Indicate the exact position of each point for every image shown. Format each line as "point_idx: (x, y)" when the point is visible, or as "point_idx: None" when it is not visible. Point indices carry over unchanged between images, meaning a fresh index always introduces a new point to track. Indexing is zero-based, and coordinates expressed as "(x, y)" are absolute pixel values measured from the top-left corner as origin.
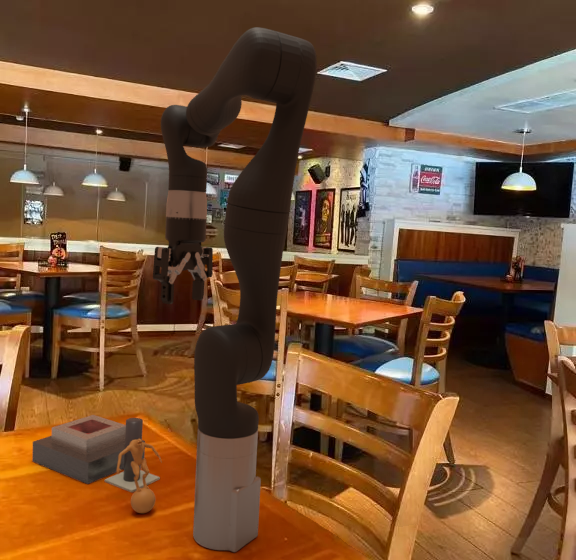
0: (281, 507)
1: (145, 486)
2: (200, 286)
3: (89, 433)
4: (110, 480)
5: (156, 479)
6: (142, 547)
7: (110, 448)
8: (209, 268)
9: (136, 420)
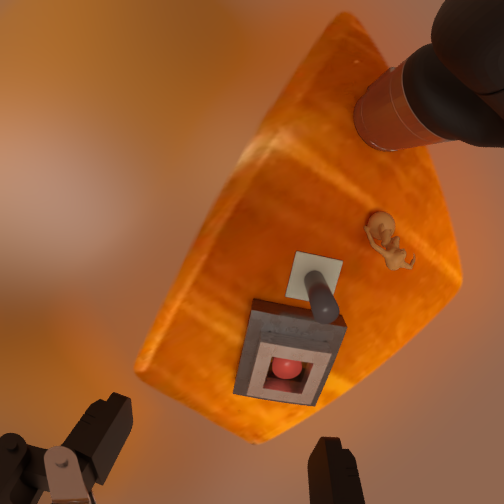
0: (296, 81)
1: (383, 228)
2: (102, 442)
3: (276, 374)
4: None
5: (302, 252)
6: (430, 187)
7: (296, 332)
8: (5, 474)
9: (324, 309)
